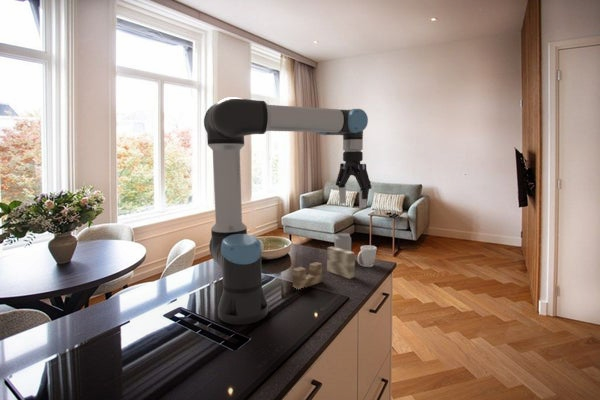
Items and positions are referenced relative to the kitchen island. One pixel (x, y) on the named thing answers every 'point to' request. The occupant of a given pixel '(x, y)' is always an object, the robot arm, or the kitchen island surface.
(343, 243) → the can
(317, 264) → the oak slot board
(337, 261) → the cream wavy slab
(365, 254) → the cup
